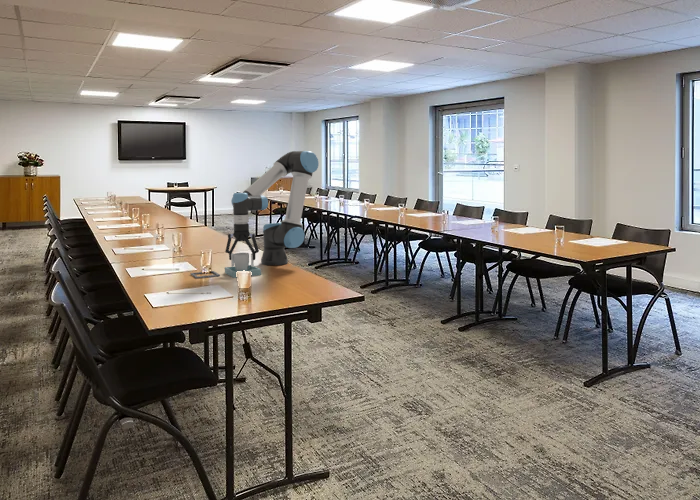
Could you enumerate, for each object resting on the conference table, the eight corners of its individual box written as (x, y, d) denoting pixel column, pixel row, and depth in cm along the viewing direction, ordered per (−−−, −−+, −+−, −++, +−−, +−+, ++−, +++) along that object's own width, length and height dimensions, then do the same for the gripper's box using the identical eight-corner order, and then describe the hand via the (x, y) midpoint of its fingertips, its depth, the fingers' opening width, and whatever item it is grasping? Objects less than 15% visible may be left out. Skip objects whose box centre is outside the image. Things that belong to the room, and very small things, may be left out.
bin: (251, 270, 312) (251, 264, 312) (261, 274, 299) (261, 269, 299) (224, 273, 305) (224, 267, 305) (233, 277, 292) (233, 271, 292)
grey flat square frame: (213, 272, 307) (213, 270, 307) (220, 276, 297) (220, 274, 296) (190, 274, 301) (190, 273, 301) (196, 278, 291) (196, 277, 291)
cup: (252, 273, 301) (251, 254, 299) (236, 275, 297) (235, 255, 295) (247, 270, 308) (246, 252, 306) (232, 272, 304) (231, 253, 302)
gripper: (217, 223, 295) (219, 267, 298) (261, 223, 294) (262, 267, 298) (221, 222, 302) (223, 264, 306) (264, 222, 302) (265, 264, 305)
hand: (242, 266), depth 302 cm, fingers open, 9 cm apart
